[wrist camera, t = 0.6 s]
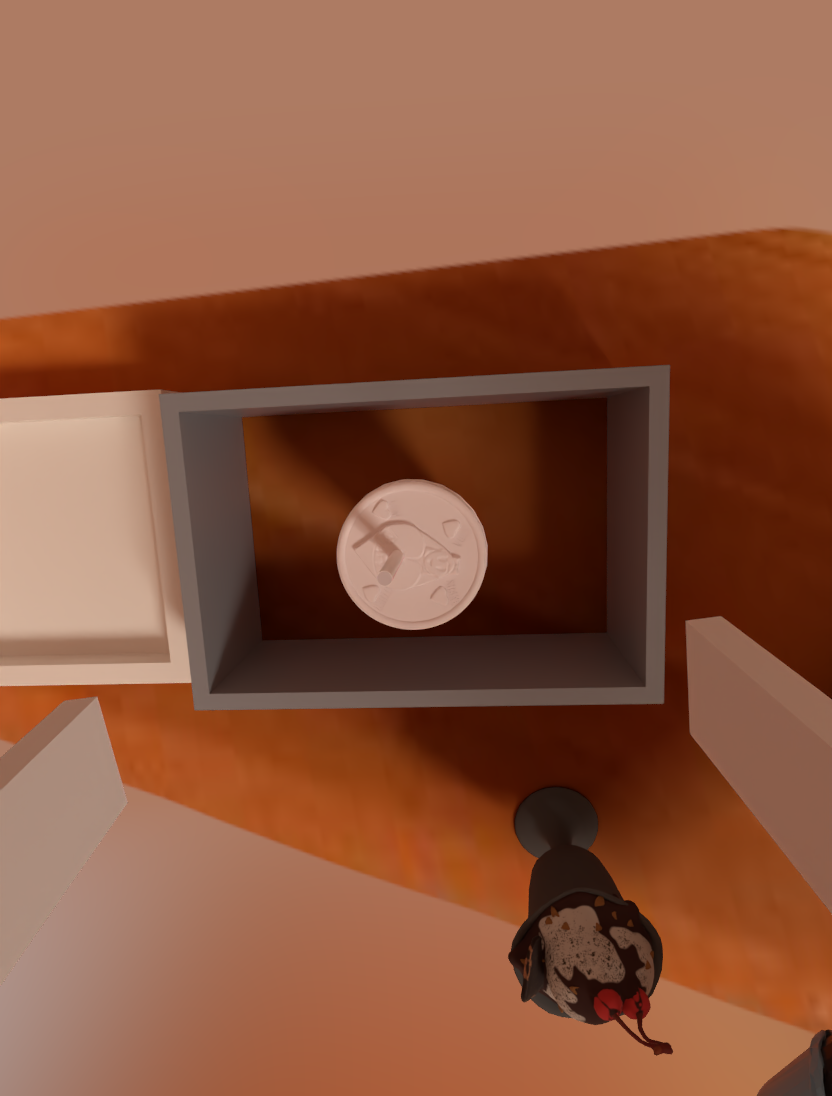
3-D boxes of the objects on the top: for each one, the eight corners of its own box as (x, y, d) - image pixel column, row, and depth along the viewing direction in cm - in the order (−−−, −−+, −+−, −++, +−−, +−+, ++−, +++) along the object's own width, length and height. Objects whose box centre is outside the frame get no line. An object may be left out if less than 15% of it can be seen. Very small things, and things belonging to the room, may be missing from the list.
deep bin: (622, 381, 34) (670, 364, 26) (621, 645, 36) (663, 703, 28) (226, 403, 36) (158, 394, 28) (250, 653, 38) (194, 710, 30)
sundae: (636, 819, 38) (744, 1062, 23) (560, 892, 39) (617, 1167, 24) (552, 750, 38) (608, 953, 23) (478, 827, 39) (486, 1066, 24)
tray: (183, 392, 36) (160, 389, 33) (212, 665, 38) (193, 682, 36) (-83, 408, 37) (-126, 405, 34) (-37, 670, 40) (-73, 687, 37)
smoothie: (376, 460, 35) (320, 476, 22) (491, 477, 35) (507, 503, 21) (362, 571, 37) (300, 653, 23) (473, 589, 36) (477, 682, 23)
